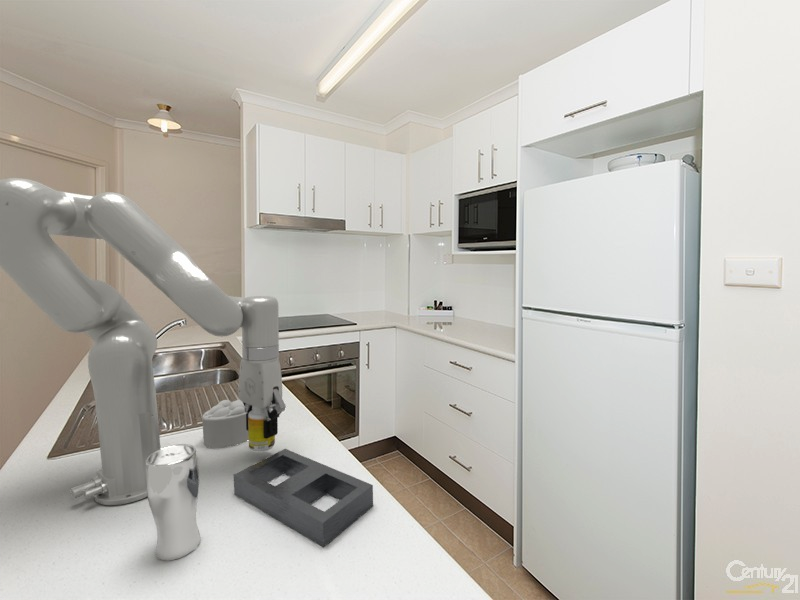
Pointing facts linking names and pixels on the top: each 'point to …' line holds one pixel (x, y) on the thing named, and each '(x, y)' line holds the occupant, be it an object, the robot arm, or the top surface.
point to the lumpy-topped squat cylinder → (225, 425)
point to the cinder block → (304, 494)
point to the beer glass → (174, 499)
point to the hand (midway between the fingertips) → (261, 431)
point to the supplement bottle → (258, 431)
